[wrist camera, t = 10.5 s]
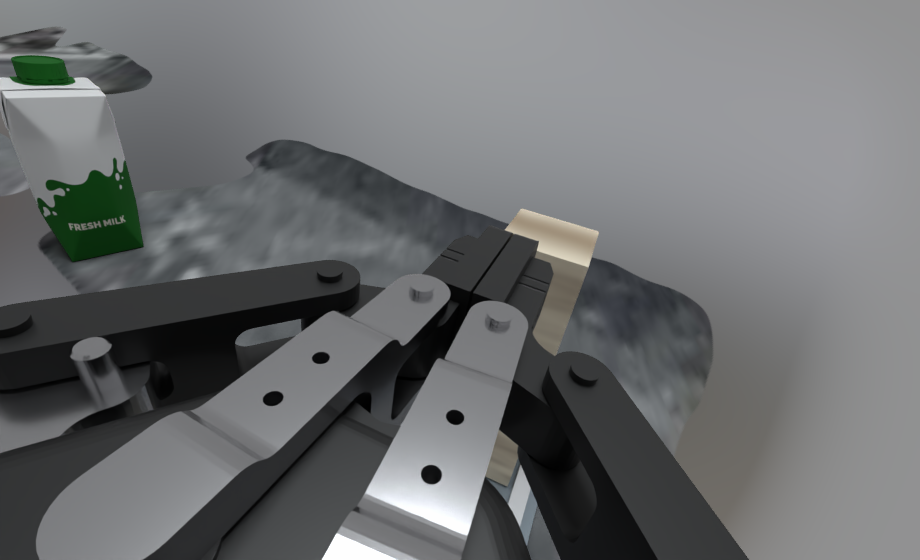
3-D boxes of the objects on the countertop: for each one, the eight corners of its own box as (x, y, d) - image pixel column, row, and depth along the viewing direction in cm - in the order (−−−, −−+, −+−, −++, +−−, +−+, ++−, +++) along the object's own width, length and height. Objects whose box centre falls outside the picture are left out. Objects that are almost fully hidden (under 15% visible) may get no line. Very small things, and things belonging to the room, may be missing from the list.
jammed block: (507, 486, 34) (588, 267, 23) (448, 459, 35) (498, 238, 24) (523, 437, 38) (599, 231, 27) (469, 414, 39) (521, 208, 28)
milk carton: (132, 219, 59) (86, 55, 48) (155, 248, 54) (109, 74, 44) (47, 234, 53) (-27, 53, 43) (64, 269, 49) (-14, 74, 38)
